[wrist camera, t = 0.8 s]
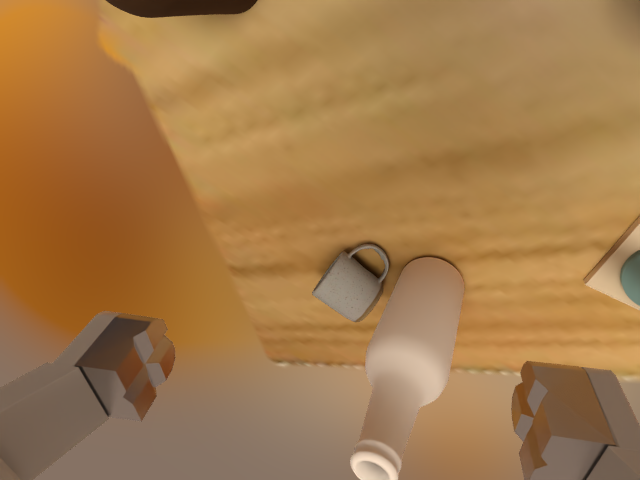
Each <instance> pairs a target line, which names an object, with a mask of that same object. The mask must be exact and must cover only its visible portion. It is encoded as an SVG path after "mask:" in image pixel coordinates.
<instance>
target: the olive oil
mask: <svg viewBox="0 0 640 480" xmlns="http://www.w3.org/2000/svg"><path fill="white" fill-rule="evenodd" d="M106 1H107V2H109V3H110V4H112V5H113V6H115V7H117V8H119V9H121V10H123V11H125V12H127V13H130V14H133V15H136V16H140V17H147V18H155V17H171V16H188V15H209V14H239V13H242V12H245V11H247V10H248V9H250V8H251V7H252V6H253V5H254V4H255V2H256V1H257V0H106Z"/></svg>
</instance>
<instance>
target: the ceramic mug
mask: <svg viewBox="0 0 640 480" xmlns="http://www.w3.org/2000/svg"><path fill="white" fill-rule="evenodd" d="M369 248H372V249H374V250H375V251H376V252H377V253H378V254H379V255H380V256H381V259H382V260H384V263H385V269H384V272H383V274H382V275H381V277H380V278H377V277H375V276H374V275H373V274H372V273H370V272H369V271H368V270H366V269H365V268H364V267H363V266H362V265H361V264H359V263H358V262H357V261H356V260H355V259H353V258H352V257H351V256H352V255H353V254H354V253H356V252H358V251H359V250H362V249H369ZM388 268H389V262H388V258H387V256H386V254H385V252H384V251H383V250H382V249H381V248H379V247H378V246H376V245H373V244H363V245H360V246H358V247H357V248H355V249H354V250H352V251H351V252H350V253H349V254H348V253H346V252H344V251H343V252H342V253H341V254H340V255H339V256H338V257H337V258H336V260H335V261H334V262H333V263H332V265H331V266H330V267H329V269H328V270H327V271H326V273H325V274H324V275H323V277H322V278H321V280H320V281H319V283H318V284H317V286H316V287H315V289H314V290H313V292H312V294H313V296H315V297H316V298H318V299H320V300H321V301H322V302H324V303H325V304H327V305H328V306H329V307H331V308H332V309H334V310H335V311H337V312H338V313H340V314H341V315H343V316H344V317H346V318H347V319H349V320H351V321H354V322H360V321H362V320H363V319H364V318H365V317H366V316H367V315H368V314H369V313H370V312H371V310H372V309H373V308H374V306H375V305H376V304H377V302H378V301H379V299H380V297H381V295H382V293H383V285H382V283H381V281H382V280H383V279H384V278H385V276H386V274H387V272H388Z"/></svg>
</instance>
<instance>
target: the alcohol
mask: <svg viewBox="0 0 640 480" xmlns="http://www.w3.org/2000/svg"><path fill="white" fill-rule="evenodd" d="M463 295H464V282H463V278H462V276H461V275H460V273H459V272H458V271H457V269H456V268H455V267H453V266H452V265H451V264H449V263H448V262H446V261H444V260H441V259H438V258H432V257H423V258H418V259H416V260H413V261H411V262H410V263H408V264H407V265H406V266H405V267H404V269H403V270H402V272H401V274H400V276H399V279H398V281H397V283H396V285H395V287H394V290H393V292H392V294H391V296H390V299H389V301H388V303H387V305H386V308H385V310H384V312H383V314H382V316H381V319H380V321H379V323H378V325H377V328H376V330H375V332H374V334H373V337H372V339H371V341H370V343H369V345H368V348H367V351H366V362H365V369H366V374H367V377H368V379H369V381H370V384H371V385H372V387H373V391H372V395H371V398H370V402H369V405H368V409H367V413H366V417H365V420H364V424H363V428H362V431H361V435H360V439H359V441H358V442H357V443H356V445H355V448H354V453H353V455H352V456H351V459H350V465H351V468H352V470H353V471H354V473H355V474H356V476H357V477H358V478H359V479H360V480H398V473H399V471H400V469H401V465H402V461H401V459H402V456H403V453H404V450H405V447H406V445H407V442H408V439H409V436H410V433H411V430H412V428H413V425H414V422H415V419H416V416H417V414H418V411H419V408H420V407H422V406H424V405H427V404H429V403H431V402H433V401H434V400H435V399H437V398H438V397H439V395H440V394H441V393H442V391H443V389H444V387H445V386H446V384H447V382H448V379H449V373H450V368H451V362H452V356H453V351H454V345H455V340H456V334H457V328H458V323H459V317H460V312H461V306H462V301H463Z"/></svg>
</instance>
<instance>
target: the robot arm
mask: <svg viewBox="0 0 640 480" xmlns="http://www.w3.org/2000/svg"><path fill="white" fill-rule="evenodd" d="M166 331H167V327H166V324H165V322H164V320H163V319H158V318H152V317H145V316H138V315H131V314H124V313H116V312H108V311H103V312H101V313H99V314H97V315H96V316H95V317H94V318H93V319H92V320H91V321H90V323H89V324H88V325H87V326H86V327H85V328H84V329H83V330H82V332H80V334H79V335H78V336H77V337H76V338H75V339H74V340H73V341H72V343H71V344H70V345H69V346H68V347H67V348H66V349H65V350H64V351H63V353H62V354H61V355H60V356H59V357H58V358H57V359H56V360H55V361H54V362H53V363H45V364H43V365H42V366H40V367H38V368H36V369H34V370H32V371H30V372H28V373H26V374H25V375H23V376H21V377H19V378H17V379H15V380H13V381H11V382H9V383H8V384H6V385H4V386H2V387H0V480H33V479H34V478H35V477H37V476H38V475H39V474H40V473H42V472H43V471H44V470H46V469H47V468H48V467H49V466H51V465H52V464H53V463H54V462H56V461H57V460H58V459H59V458H61V457H62V456H63V455H64V454H66V453H67V452H68V451H69V450H71V449H72V448H73V447H74V446H76V445H77V444H78V443H79V442H81V441H82V440H83V439H84V438H86V437H87V436H88V435H89V434H91V433H92V432H93V431H95V430H96V429H97V428H98V427H100V426H101V425H102V424H103V423H105V422H106V421H107V420H108V419H109V418H108V417H113V418H120V419H127V420H135V421H142V420H143V418H144V417H145V415H146V413H147V412H148V410H149V408H150V407H151V405H152V403H153V402H154V400H155V398H156V396H157V395H156V387H157V386H158V385H160V384H161V383H163V382H164V381H166V380H167V378H168V376H169V374H170V373H171V371H172V368H173V365H174V361H175V348H174V345H173V342H172V341H171V340H169V339H168V338H167V337H166V336H165V335H164V334H165V333H166ZM520 373H521V377H522V381H523V382H522V383H520V384H518V385H517V386H516V387H515V390H514V393H513V397H512V408H511V409H512V421H513V426H514V431H515V433H516V434H517V435H518V436H519V437H520V439H521V440H522V441H523V444H522V447H521V449H520V452H519V456H520V461H521V465H522V470H523V475H524V480H640V425H639V423H638V421H637V419H636V417H635V415H634V413H633V410H632V408H631V406H630V404H629V402H628V400H627V398H626V396H625V394H624V392H623V390H622V388H621V386H620V383H619V381H618V379H617V377H616V375H615V374H614V373H613V372H612V371H611V370H602V369H594V368H585V367H579V366H570V365H561V364H551V363H542V362H532V361H527V362H525V363H524V364H523V367H522V370H521V372H520Z"/></svg>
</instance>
